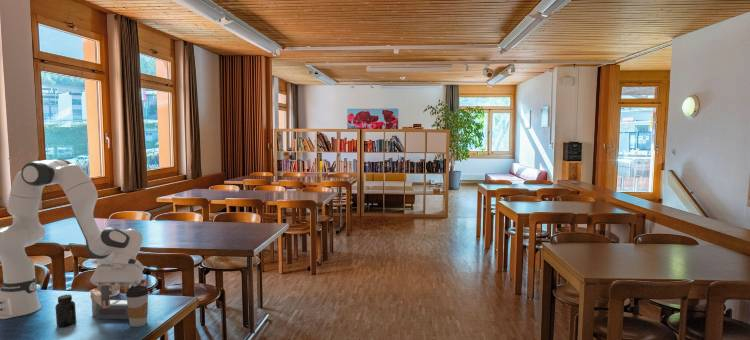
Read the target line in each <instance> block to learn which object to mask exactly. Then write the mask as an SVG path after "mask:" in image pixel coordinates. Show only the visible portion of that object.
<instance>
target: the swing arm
mask: <svg viewBox="0 0 750 340" xmlns="http://www.w3.org/2000/svg"><path fill="white" fill-rule="evenodd" d="M90 299H91V300H92V299H93V300H94V301H95V302H97V303H98V304H99V305H100V306H102V307H103V308H107V307H110V300H111V297H110V292H109V285H104V286H101V292H99V291H98V290H97V289H93V290H90Z"/></svg>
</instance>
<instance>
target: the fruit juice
mask: <svg viewBox="0 0 750 340" xmlns="http://www.w3.org/2000/svg"><path fill="white" fill-rule="evenodd" d="M113 256H114V253H113V252H112V253H111V254H110V255H109V256H108V257H106V258H104V259H96V258H95V259H96V264H97V265H96V268H97V267H98V266H100V265H101V264H110V263H111V261H112V259H113ZM101 286H104V285H96V290H98V291H99V292H101ZM114 287H115V285H112V287H110V289H113V288H114ZM120 293H121V291H120V288H119V289H118V290H117V291H116V292H115V294H114V295H110V298H112V297H115V296H118V295H119V294H120Z"/></svg>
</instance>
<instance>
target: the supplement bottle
mask: <svg viewBox="0 0 750 340" xmlns="http://www.w3.org/2000/svg"><path fill="white" fill-rule="evenodd" d="M54 307H55V308H54V309H55V321H56V323H55V324H56V327H58V328H62V329H63V328H68V327H72V326H74V325H75V324H76V323H77V313H76V312H77V311H76V303H75V301H74V300H73V297H72V294H62V295H60V296H58V297H57V304H55V306H54Z"/></svg>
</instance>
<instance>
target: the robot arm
mask: <svg viewBox="0 0 750 340" xmlns="http://www.w3.org/2000/svg"><path fill="white" fill-rule="evenodd" d="M52 185H59V186H60V188H61V189H62V191H63V193H64V194H65V195H66V196H65V197H66V199H68V201H69V204H70V206H71V208H72V211H73V214H74V217H75V220H76V222H77V224H78V226H79V228H80V230H81V233H82V235H83V237H84V240H85V247H86V252H87V254H89V256H90V257H91V258H93V259H104V258H106V257H108V256H109V255H110V254H111V253H112V252H113V253H114V256H113V259H112V261H111V263H110V264H101V265H100V266H98V267H97V266H96V267H95V270H94V271H93V272H92V273H93V274H91V277H90V279H89V280H90V283H91V284H92V285H94V286H97V285H109V292H110V295H114V294H115V292H116V291H117V290H118V289H120V288H121V286H139V285H140V284H141V282H142V278H143V276H144V272H143V271H144V270H145V266H144V265H143V263H141V261H139V260H138V259H136V258H137V255H138V254H139V253H140V249H141V248H142V243H143V234H142V233H141V232H140V231H139V230H137V229H135V228H127V229H120V228H118V227H113V226H110V227H106V228H104V229H103V230H102V231H100V229H99V226H98V224H97V221H96V220H95V218H94V217H95V216H94V211H95V206H96V204H97V201H98V198H99V195H98V190H97V187H96V186H95V184H94V182H93V181H92V179H91V178H90V176H89V175H88V173H87V172H86V171H85V170H84V168H83V167H81V165H79V164H77V163H71V161H68V160H66V159H60V158H59V159H43V160H33V161H30V162H27V163H26V164H25V165H23V166H22V168H21V170H20V171H18V172H17V173H16V175H15V177H14V179H13V182H12V184H11V188H10V193H9V197H8V201H7V207H6V211H7V213H8V214H9V215H10V216H11V217H12V224H11V225H8V226H4V227H0V263H1V268H2V278H3V281H1V282H0V320H7V319H11V318H14V317H15V318H17V317H19V316H25V315H29V314H32V313H35V312H37V311H40V310H41V309H42V306H41V303H40V300H39V296H38V291H37V285H38V283H37V282H38V281H37V277H36V271H35V261H34V259H33V258H31V257H29V256H28V255H27V252H26V250H25V249H26V248H27V247H31V246H33V245H35V244H37V243H38V242H40V241H42V240H43V239H44V237H45V235H46V230H45V227H44V226H43V224H41V222H40V218H39V210H40V205H41V200H42V199H41V198H42V193H43V190H44V188H45V186H52ZM112 285H115V287H114V288H113V289H110V287H112Z"/></svg>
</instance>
